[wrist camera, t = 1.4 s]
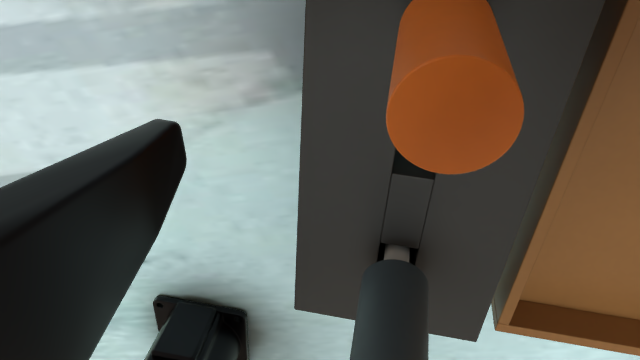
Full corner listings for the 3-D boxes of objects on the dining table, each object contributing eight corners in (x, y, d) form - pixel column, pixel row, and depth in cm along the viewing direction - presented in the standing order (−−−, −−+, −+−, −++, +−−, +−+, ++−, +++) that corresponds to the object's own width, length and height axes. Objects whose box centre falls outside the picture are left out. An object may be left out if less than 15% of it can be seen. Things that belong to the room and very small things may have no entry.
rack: (619, -146, 17) (659, -140, 14) (471, 292, 29) (476, 342, 26) (330, -166, 18) (311, -164, 15) (306, 264, 30) (294, 309, 27)
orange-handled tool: (471, 32, 21) (503, 183, 12) (399, 24, 21) (378, 165, 12) (490, -46, 19) (543, 64, 10) (410, -53, 19) (395, 46, 10)
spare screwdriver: (423, 239, 28) (420, 435, 19) (368, 231, 28) (340, 419, 19) (433, 196, 26) (435, 389, 17) (375, 188, 26) (347, 372, 17)
